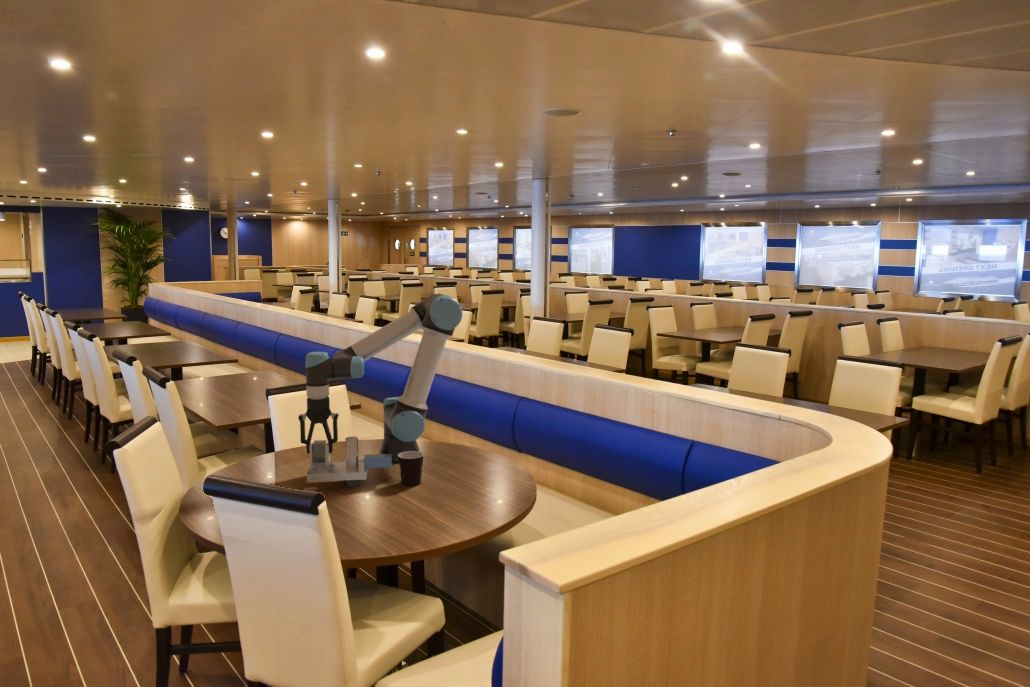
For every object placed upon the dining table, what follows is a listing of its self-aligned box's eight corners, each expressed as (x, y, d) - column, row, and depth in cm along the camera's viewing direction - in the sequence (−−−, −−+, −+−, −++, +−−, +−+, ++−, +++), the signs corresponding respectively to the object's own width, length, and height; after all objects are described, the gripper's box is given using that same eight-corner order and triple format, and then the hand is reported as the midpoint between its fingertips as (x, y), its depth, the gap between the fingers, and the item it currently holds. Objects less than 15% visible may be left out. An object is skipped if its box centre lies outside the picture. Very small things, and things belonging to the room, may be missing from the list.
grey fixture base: (392, 477, 244) (391, 432, 241) (391, 488, 232) (390, 441, 230) (312, 480, 240) (311, 434, 238) (307, 492, 228) (305, 444, 226)
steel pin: (327, 473, 247) (326, 440, 246) (325, 476, 243) (324, 443, 242) (315, 473, 247) (314, 440, 245) (313, 477, 243) (312, 443, 241)
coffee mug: (419, 488, 232) (418, 459, 231) (394, 486, 234) (394, 457, 233) (430, 477, 244) (430, 449, 242) (406, 475, 245) (406, 447, 244)
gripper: (345, 394, 246) (347, 458, 249) (293, 395, 244) (295, 459, 247) (343, 398, 239) (345, 464, 242) (289, 399, 236) (291, 466, 239)
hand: (320, 462), depth 244 cm, fingers open, 5 cm apart
